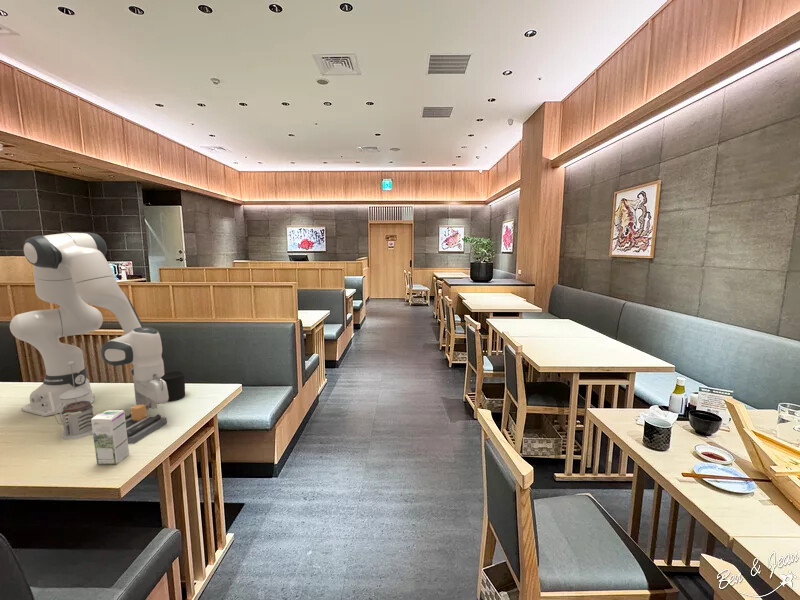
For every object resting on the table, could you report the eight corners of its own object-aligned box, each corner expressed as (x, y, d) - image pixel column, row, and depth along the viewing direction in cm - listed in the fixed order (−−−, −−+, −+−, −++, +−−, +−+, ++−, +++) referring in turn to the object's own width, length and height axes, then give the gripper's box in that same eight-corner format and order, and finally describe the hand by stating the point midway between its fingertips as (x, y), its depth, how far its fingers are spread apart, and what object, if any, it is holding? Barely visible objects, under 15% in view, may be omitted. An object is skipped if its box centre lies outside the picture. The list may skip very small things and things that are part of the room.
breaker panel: (95, 440, 117) (93, 430, 117) (132, 420, 131) (131, 410, 130) (133, 443, 115) (132, 433, 115) (166, 422, 129) (166, 413, 129)
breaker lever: (132, 422, 125) (130, 408, 124) (139, 418, 127) (137, 404, 127) (139, 422, 124) (138, 408, 123) (146, 418, 127) (145, 404, 126)
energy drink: (156, 404, 144) (153, 376, 142) (145, 410, 138) (142, 381, 137) (144, 404, 144) (141, 375, 142) (133, 410, 139) (129, 380, 137)
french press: (106, 425, 127) (98, 357, 123) (76, 443, 116) (66, 368, 112) (79, 424, 127) (70, 356, 124) (46, 442, 116) (35, 368, 112)
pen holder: (191, 393, 154) (189, 371, 153) (174, 403, 145) (172, 379, 144) (171, 392, 156) (169, 370, 154) (154, 401, 147) (151, 378, 145)
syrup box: (130, 453, 110) (125, 409, 108) (116, 465, 104) (110, 418, 102) (111, 453, 110) (105, 409, 108) (95, 465, 104) (89, 418, 102)
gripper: (171, 375, 126) (175, 412, 128) (148, 364, 138) (151, 398, 140) (151, 381, 121) (155, 419, 123) (128, 368, 133) (132, 404, 135)
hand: (153, 408), depth 132 cm, fingers closed
